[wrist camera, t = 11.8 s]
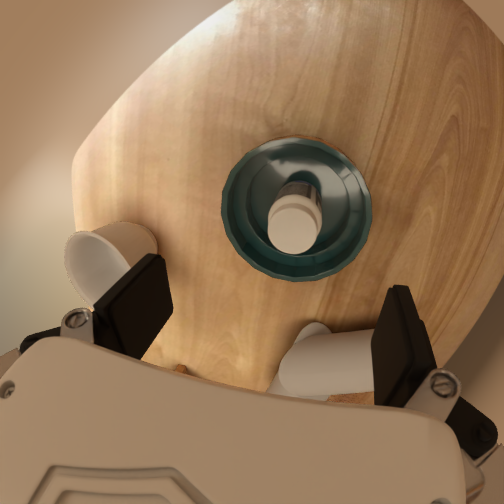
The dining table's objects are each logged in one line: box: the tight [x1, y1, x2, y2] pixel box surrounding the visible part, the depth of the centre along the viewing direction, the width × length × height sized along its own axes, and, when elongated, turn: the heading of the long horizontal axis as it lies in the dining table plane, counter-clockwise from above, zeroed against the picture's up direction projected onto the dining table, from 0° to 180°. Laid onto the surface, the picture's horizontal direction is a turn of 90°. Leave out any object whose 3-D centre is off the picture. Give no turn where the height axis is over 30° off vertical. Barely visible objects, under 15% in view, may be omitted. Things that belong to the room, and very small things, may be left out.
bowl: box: [221, 135, 372, 282], centre depth 28 cm, size 14×14×5 cm
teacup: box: [64, 221, 158, 310], centre depth 33 cm, size 12×15×10 cm
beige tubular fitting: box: [266, 323, 374, 401], centre depth 35 cm, size 18×11×20 cm
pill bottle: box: [268, 181, 322, 254], centre depth 26 cm, size 5×5×8 cm
